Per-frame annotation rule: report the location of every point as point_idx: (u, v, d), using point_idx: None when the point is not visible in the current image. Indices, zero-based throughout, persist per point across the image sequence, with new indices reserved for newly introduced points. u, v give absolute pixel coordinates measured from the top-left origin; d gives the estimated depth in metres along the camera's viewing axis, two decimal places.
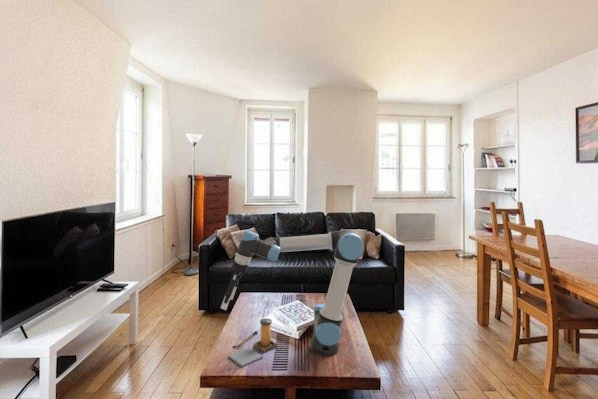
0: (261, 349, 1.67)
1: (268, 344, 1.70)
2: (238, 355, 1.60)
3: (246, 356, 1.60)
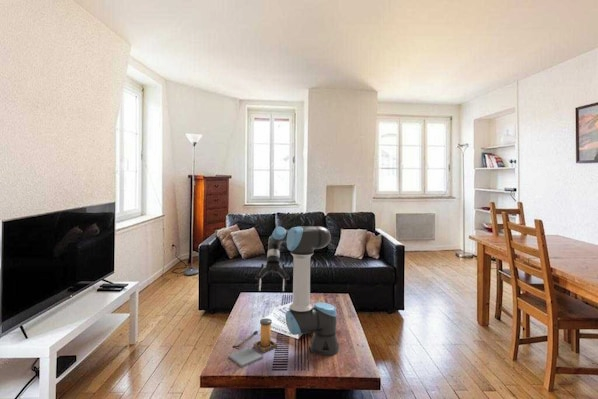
0: (261, 349, 1.67)
1: (268, 344, 1.70)
2: (238, 355, 1.60)
3: (246, 356, 1.60)
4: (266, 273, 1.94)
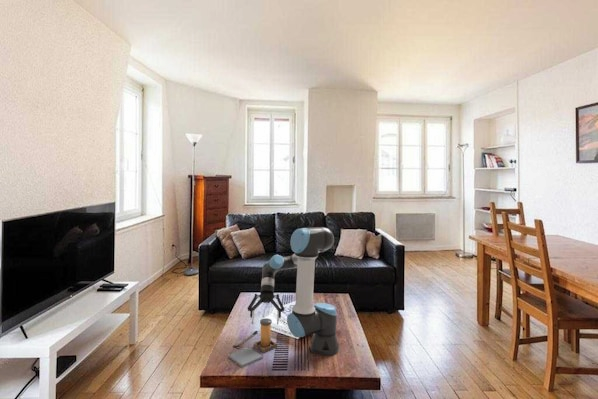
0: (261, 349, 1.67)
1: (268, 344, 1.70)
2: (238, 355, 1.60)
3: (246, 356, 1.60)
4: (259, 304, 1.83)
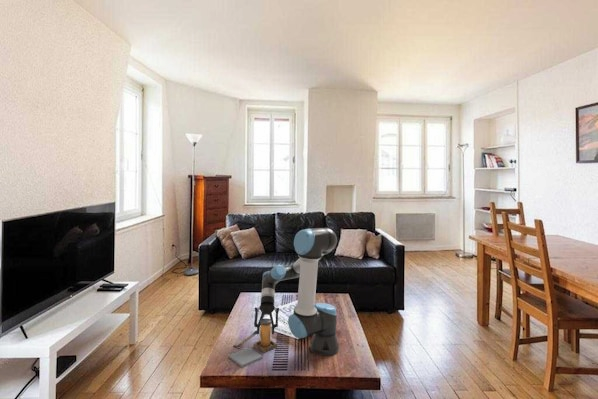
0: (261, 349, 1.67)
1: (268, 344, 1.70)
2: (238, 355, 1.60)
3: (246, 356, 1.60)
4: None
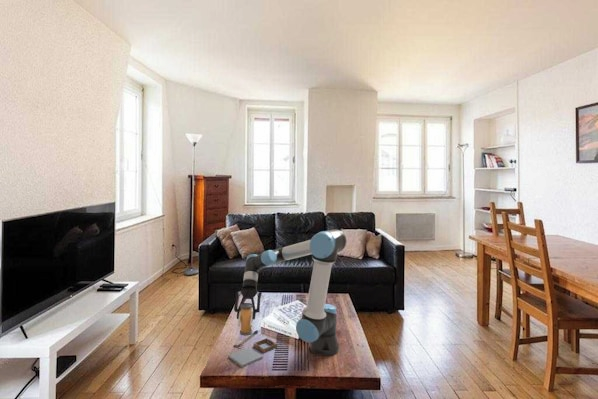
0: (261, 349, 1.67)
1: (248, 330, 1.59)
2: (238, 355, 1.60)
3: (246, 356, 1.60)
4: (244, 301, 1.66)
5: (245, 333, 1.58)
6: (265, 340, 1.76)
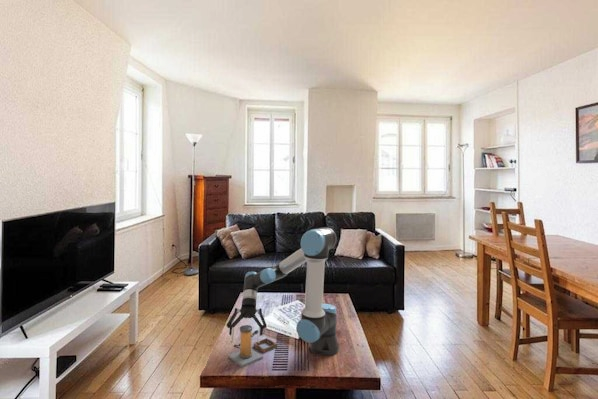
0: (261, 349, 1.67)
1: (248, 353, 1.58)
2: (238, 355, 1.60)
3: None
4: None
5: (245, 356, 1.58)
6: (265, 340, 1.76)
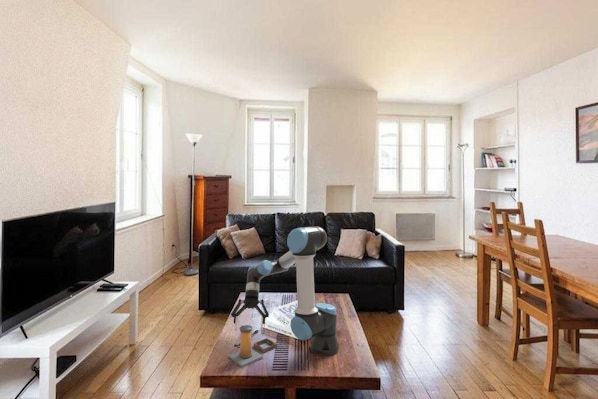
0: (261, 349, 1.67)
1: (248, 353, 1.58)
2: (238, 355, 1.60)
3: None
4: None
5: (245, 356, 1.58)
6: (265, 340, 1.76)
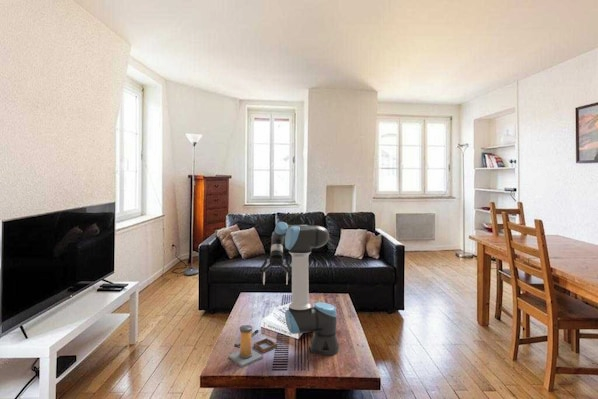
0: (261, 349, 1.67)
1: (248, 353, 1.58)
2: (238, 355, 1.60)
3: None
4: (270, 267, 1.99)
5: (245, 356, 1.58)
6: (265, 340, 1.76)
